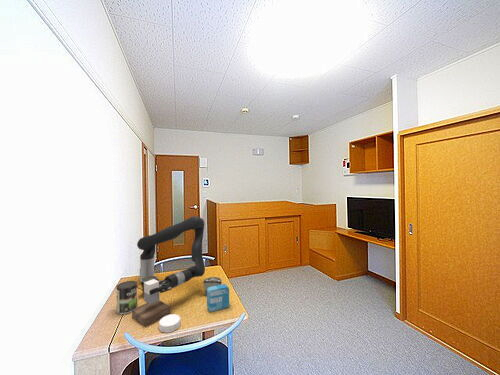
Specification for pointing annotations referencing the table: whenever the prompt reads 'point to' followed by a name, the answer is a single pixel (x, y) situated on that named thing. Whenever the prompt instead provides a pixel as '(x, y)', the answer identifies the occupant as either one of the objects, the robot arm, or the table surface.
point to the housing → (147, 287)
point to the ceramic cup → (146, 281)
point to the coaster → (169, 323)
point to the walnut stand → (151, 312)
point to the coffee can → (126, 297)
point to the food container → (211, 283)
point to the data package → (217, 297)
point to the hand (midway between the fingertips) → (147, 291)
